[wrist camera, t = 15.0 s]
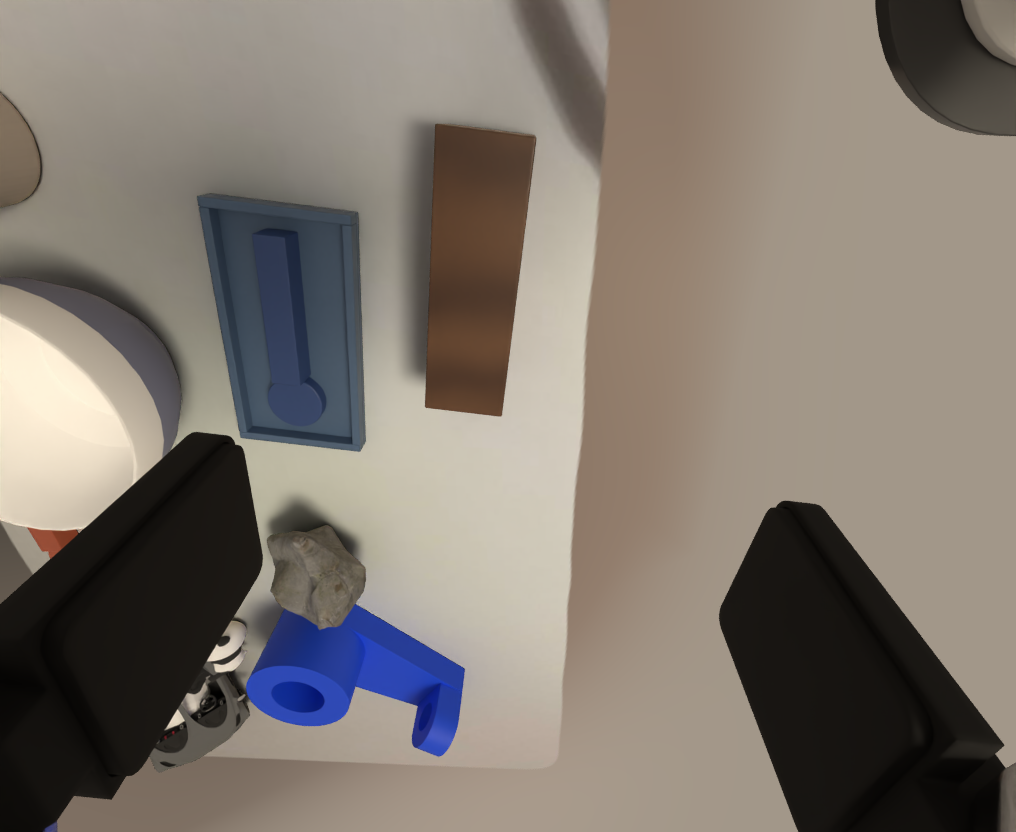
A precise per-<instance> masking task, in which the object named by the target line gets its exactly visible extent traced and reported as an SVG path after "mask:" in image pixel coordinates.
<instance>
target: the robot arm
mask: <svg viewBox="0 0 1016 832" xmlns="http://www.w3.org/2000/svg"><path fill="white" fill-rule="evenodd" d="M961 3H962V7H963V11H964V15H965V19H966V21H967V22H968V24H969V26H970V28H971V30H972V31H973V33H974V35H975V37H976V39H977V40H978V41H979V42H980V43H981V44H982V45H983V46H984V47H985V48H986V49H987V50H988V51H989V52H990V53H991V54H992V55H994V56H996V57H998V58H1000V59H1002V60H1003V61H1005V62H1007V63H1009V64H1011V65H1015V66H1016V0H961ZM262 562H263V554H262V549H261V543H260V538H259V532H258V527H257V521H256V515H255V510H254V504H253V499H252V493H251V488H250V482H249V476H248V471H247V465H246V460H245V454H244V451H243V448H242V447H241V446H239V445H235V442H234V440H233V439H232V438H231V437H230V436H227V435H218V434H209V433H201V432H194V433H191V434H189V435H188V436H187V437H185V438H184V439H183V440H182V441H181V442H180V443H179V444H178V445H177V446H175V447H174V448H173V449H172V450H171V451H170V452H169V453H168V454H167V455H165V456H164V457H163V458H162V459H161V460H160V461H159V462H158V463H157V464H155V465H154V466H153V467H152V468H151V469H150V470H149V471H148V472H147V473H145V474H144V475H143V476H142V477H141V478H140V479H139V480H138V481H137V482H135V483H134V484H133V485H132V486H131V487H130V488H129V489H128V490H127V491H125V492H124V493H123V494H122V495H121V496H120V497H119V498H118V499H117V500H115V501H114V502H113V503H112V504H111V505H110V506H109V507H108V508H107V509H105V510H104V511H103V512H102V513H101V514H100V515H99V516H98V517H97V518H95V519H94V520H93V521H92V522H91V523H90V524H89V525H88V526H87V527H85V528H84V529H83V530H82V531H81V532H80V533H79V534H78V535H77V536H75V537H74V538H73V539H72V540H71V541H70V542H69V543H68V544H67V545H66V546H64V547H63V548H62V549H61V550H60V551H59V552H58V553H57V554H56V555H54V556H53V557H52V558H51V559H50V560H49V561H48V562H47V563H46V564H44V565H43V566H42V567H41V568H40V569H39V570H38V571H37V572H36V573H34V574H33V575H32V576H31V577H30V578H29V579H28V580H27V581H26V582H24V583H23V584H22V585H21V586H20V587H19V588H18V589H17V590H16V591H14V592H13V593H12V594H11V595H10V596H9V597H8V598H7V599H6V600H4V601H3V602H2V603H1V604H0V832H57V820H58V818H59V817H60V815H61V814H62V812H63V811H64V809H65V808H66V807H67V805H68V804H69V802H70V801H71V799H72V798H73V796H81V797H92V798H102V799H112V798H113V796H114V795H115V793H116V792H117V790H118V789H119V787H120V785H121V784H122V782H123V780H124V779H125V777H126V776H132V775H134V774H135V773H137V772H138V771H139V770H140V769H141V768H142V766H143V765H144V763H145V762H146V761H147V759H148V757H149V756H150V754H151V752H152V751H153V749H154V747H155V746H156V744H157V742H158V741H159V739H160V738H161V736H162V734H163V733H164V731H165V729H166V728H167V726H168V724H169V723H170V721H171V719H172V718H173V716H174V714H175V713H176V711H177V709H178V708H179V706H180V705H181V703H182V701H183V700H184V698H185V696H186V695H187V693H188V691H189V690H190V688H191V686H192V685H193V683H194V681H195V680H196V678H197V676H198V675H199V673H200V672H201V670H202V668H203V667H204V665H205V663H206V662H207V660H208V658H209V657H210V655H211V653H212V652H213V650H214V648H215V647H216V645H217V643H218V642H219V640H220V639H221V637H222V635H223V634H224V632H225V630H226V629H227V627H228V625H229V624H230V622H231V620H232V619H233V617H234V615H235V614H236V612H237V610H238V609H239V607H240V606H241V604H242V602H243V601H244V599H245V597H246V596H247V594H248V592H249V591H250V589H251V587H252V586H253V584H254V582H255V581H256V579H257V577H258V575H259V573H260V571H261V567H262ZM719 621H720V626H721V629H722V632H723V634H724V637H725V640H726V643H727V645H728V648H729V651H730V653H731V656H732V658H733V661H734V664H735V667H736V669H737V672H738V674H739V677H740V680H741V682H742V685H743V688H744V690H745V693H746V695H747V698H748V701H749V703H750V706H751V709H752V711H753V714H754V717H755V719H756V722H757V725H758V727H759V730H760V733H761V735H762V738H763V740H764V743H765V746H766V748H767V751H768V753H769V756H770V759H771V761H772V764H773V767H774V769H775V772H776V775H777V777H778V780H779V783H780V785H781V788H782V791H783V793H784V796H785V799H786V801H787V804H788V806H789V809H790V812H791V814H792V817H793V820H794V822H795V825H796V827H797V830H798V832H1016V763H1014V764H1012V765H1011V766H1009V767H1007V768H1005V767H1004V765H1003V764H1002V763H1001V761H1000V760H999V759H998V757H997V756H996V755H995V753H996V752H998V751H999V750H1000V749H1001V748H1002V747H1003V746H1004V744H1003V743H1002V741H1001V740H1000V739H999V737H998V736H997V735H996V733H995V732H994V731H993V730H992V728H991V727H990V726H989V724H988V723H987V722H986V720H985V719H984V718H983V716H982V715H981V714H980V713H979V711H978V710H977V709H976V707H975V706H974V705H973V703H972V702H971V701H970V699H969V698H968V697H967V695H966V694H965V693H964V692H963V690H962V689H961V688H960V686H959V685H958V684H957V683H956V681H955V680H954V679H953V677H952V676H951V675H950V673H949V672H948V671H947V669H946V668H945V667H944V665H943V664H942V663H941V662H940V660H939V659H938V658H937V656H936V655H935V654H934V653H933V651H932V650H931V648H930V647H929V646H928V645H927V643H926V642H925V641H924V640H923V638H922V637H921V635H920V634H919V633H918V631H917V630H916V629H915V628H914V626H913V625H912V624H911V622H910V621H909V620H908V619H907V617H906V616H905V614H904V613H903V612H902V611H901V609H900V608H899V607H898V605H897V604H896V603H895V601H894V600H893V599H892V598H891V596H890V595H889V594H888V592H887V591H886V590H885V588H884V587H883V586H882V584H881V583H880V582H879V580H878V579H877V578H876V577H875V575H874V574H873V573H872V571H871V570H870V569H869V567H868V566H867V565H866V563H865V562H864V561H863V560H862V558H861V557H860V556H859V554H858V553H857V552H856V551H855V549H854V548H853V546H852V545H851V544H850V543H849V541H848V540H847V539H846V538H845V536H844V535H843V533H842V532H841V531H840V529H839V528H838V527H837V526H836V524H835V523H834V522H833V520H832V519H831V518H830V517H829V515H828V514H827V513H826V511H825V510H824V509H823V508H822V507H821V506H819V505H816V504H810V503H802V502H793V501H782V502H780V503H779V504H778V505H777V507H776V508H770V509H769V510H768V511H767V513H766V514H765V516H764V518H763V520H762V523H761V525H760V527H759V529H758V531H757V533H756V535H755V537H754V539H753V541H752V543H751V545H750V547H749V549H748V551H747V554H746V556H745V558H744V560H743V562H742V564H741V566H740V568H739V570H738V572H737V574H736V576H735V578H734V580H733V582H732V585H731V587H730V589H729V591H728V593H727V595H726V597H725V599H724V601H723V603H722V605H721V608H720V613H719Z"/></svg>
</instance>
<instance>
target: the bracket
mask: <svg viewBox="0 0 1016 832" xmlns="http://www.w3.org/2000/svg"><path fill="white" fill-rule="evenodd" d="M464 672H465V669H464V668H462V667H461V666H459V665H457V664H456V663H454V662H452V661H450V660H449V659H447V658H445V657H444V656H442V655H440V654H439V653H437V652H435V651H434V650H432V649H430V648H428V647H427V646H425V645H423V644H422V643H420V642H418V641H417V640H415V639H413V638H412V637H410V636H408V635H406V634H405V633H403V632H401V631H400V630H398V629H396V628H395V627H393V626H391V625H390V624H388V623H386V622H385V621H383V620H381V619H379V618H378V617H376V616H374V615H373V614H371V613H369V612H368V611H366V610H364V609H363V608H361V607H359V606H357V605H356V604H355V605H354V606H353V608H352V609H351V611H350V612H349V614H348V615H347V616H346V617H345V619H344V621H343V623H342V624H341V625H340V626H338V627H327V628H325V629H321V630H319V629H318V626H317V625H315V624H313V623H312V622H310V621H309V620H307V619H306V618H304V617H303V616H301V615H298V614H295V613H293V612H290V611H288V610H286V609H284V611H283V613H282V615H281V617H280V619H279V621H278V623H277V625H276V627H275V629H274V631H273V633H272V634H271V636H270V638H269V640H268V642H267V644H266V646H265V648H264V650H263V652H262V654H261V656H260V658H259V660H258V662H257V664H256V666H255V668H254V670H253V672H252V674H251V676H250V678H249V680H248V682H247V685H246V691H247V694H248V697H249V699H250V700H251V701H252V703H253V704H254V705H255V706H256V707H257V708H258V709H260V710H261V711H262V712H264V713H265V714H267V715H269V716H271V717H273V718H275V719H278V720H280V721H283V722H287V723H290V724H295V725H302V726H321V725H327V724H330V723H333V722H336V721H338V720H339V719H341V718H342V717H343V716H344V715H345V714H346V713H347V711H348V709H349V705H350V702H351V699H352V696H353V693H354V689H355V686H356V687H359V688H362V689H365V690H369V691H372V692H375V693H378V694H381V695H385V696H388V697H391V698H394V699H397V700H401V701H404V702H407V703H410V704H413V705H416V706H418V708H417V713H416V718H415V723H414V728H413V734H412V744H413V746H414V747H415V748H418V749H420V750H423V751H425V752H428V753H431V754H433V755H436V756H442V755H443V754H444V753H445V752H446V751H447V749H448V748H449V746H450V745H451V743H452V741H453V738H454V736H455V733H456V730H457V726H458V721H459V713H460V705H461V697H462V689H463V680H464Z"/></svg>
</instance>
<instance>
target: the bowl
mask: <svg viewBox="0 0 1016 832" xmlns="http://www.w3.org/2000/svg"><path fill="white" fill-rule="evenodd" d="M181 400H182V398H181V390H180V383H179V380H178V377H177V374H176V372H175V368H174V365H173V362H172V359H171V357H170V355H169V353H168V351H167V349H166V348H165V346H164V345H163V343H162V342H161V341H160V339H159V338H158V337H157V335H156V334H155V333H154V332H153V331H152V330H150V329H149V328H148V327H147V326H146V325H145V324H144V323H143V322H141V321H140V320H139V319H137V318H136V317H135V316H133V315H131V314H129V313H127V312H126V311H124V310H122V309H121V308H119V307H117V306H115V305H113V304H112V303H110V302H108V301H106V300H104V299H103V298H100V297H98V296H95V295H93V294H90V293H88V292H85V291H82V290H78V289H74V288H69V287H65V286H61V285H56V284H52V283H47V282H43V281H38V280H33V279H29V278H15V277H0V520H1V521H5V522H8V523H11V524H14V525H18V526H24V527H29V528H35V529H40V530H61V531H66V530H74V529H83V528H85V527H87V526H88V525H89V524H90V523H91V522H92V521H93V520H94V519H95V518H97V517H98V516H99V515H100V514H101V513H102V512H103V511H104V510H105V509H107V508H108V507H109V506H110V505H111V504H112V503H113V502H114V501H115V500H117V499H118V498H119V497H120V496H121V495H122V494H123V493H124V492H125V491H127V490H128V489H129V488H130V487H131V486H132V485H133V484H134V483H135V482H137V481H138V480H139V479H140V478H141V477H142V476H143V475H144V474H145V473H147V472H148V471H149V470H150V469H151V468H152V467H153V466H154V465H155V464H157V463H158V462H159V461H160V460H161V459H162V458H163V457H164V456H165V455H167V454H168V453H169V451H170V450H171V448H172V446H173V443H174V441H175V438H176V436H177V431H178V423H179V416H180V408H181Z"/></svg>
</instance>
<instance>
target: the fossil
mask: <svg viewBox="0 0 1016 832" xmlns="http://www.w3.org/2000/svg"><path fill="white" fill-rule="evenodd" d="M267 543H268V548H269V551H270V553H271V555H272V558H273V562H274V565H275V575H274V580H273V582H272V587H271V592H272V593H273V595H274V596H275V599H276V601H277V602H278V603H279V604H280V605H281V606H282V607H283V608H285V609H286V610H288V611H290V612H293V613H295V614H298V615H301V616H303V617H304V618H306V619H307V620H309V621H310V622H312V623H313V624H315V625H317V626H318V629H319V630H321V629H325V628H327V627H338V626H340V625H341V624H342V623H343V621H344V619H345V617H346V616H347V615H348V614H349V612H350V611H351V609H352V608H353V606H354V605H355V603H356V601H357V600H358V599H359V598H360V596H361V594H362V593H363V591H364V587H365V582H366V569H365V567H364V566H363V565H362V564H361V562H359V561H358V560H357V559H356V558H354V557H353V556H352V555H351V554H350V553H349V552H348V551H347V550H346V549H345V548H344V546H343V545H342V543H341V542H340V540H339V539H338V537H337V535H336V534H335V532H334V530H333V528H332V527H330V526H328V525H325V526H322V527H319V528H317V529H314V530H311V531H308V532H297V531H291V532H288V533H278V534H274V535H271V536H269V537H268V539H267Z"/></svg>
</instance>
